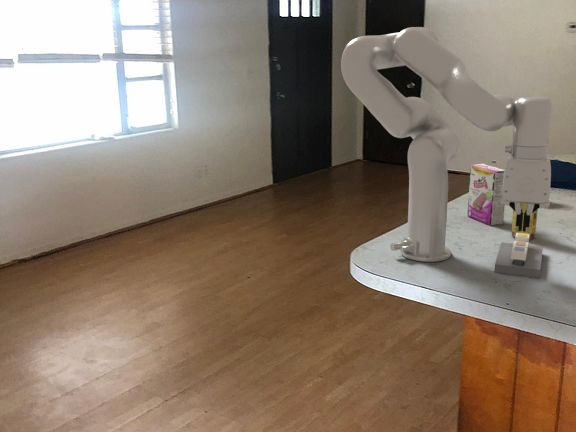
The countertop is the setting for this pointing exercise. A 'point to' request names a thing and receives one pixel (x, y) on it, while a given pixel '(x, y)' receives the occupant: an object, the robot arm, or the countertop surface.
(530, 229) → the sauce bottle
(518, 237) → the key mustard
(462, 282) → the countertop surface
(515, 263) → the key blue
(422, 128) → the robot arm
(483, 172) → the candy bar box
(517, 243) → the key terracotta
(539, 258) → the keypad board
